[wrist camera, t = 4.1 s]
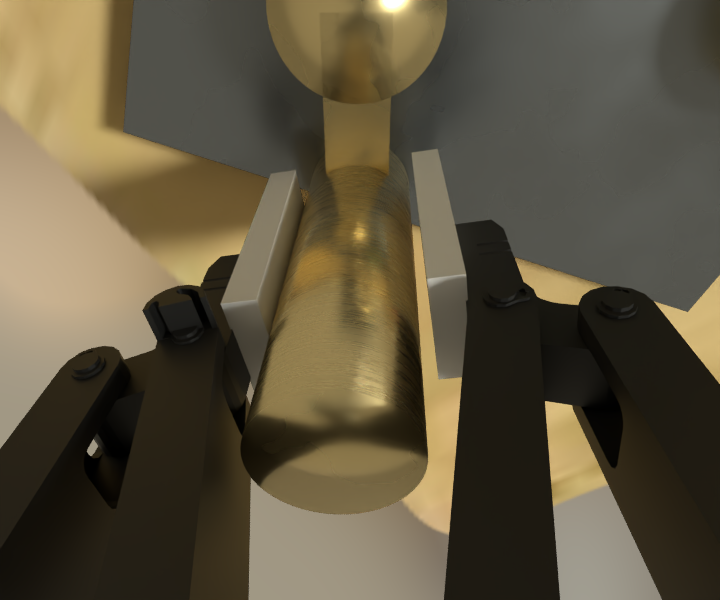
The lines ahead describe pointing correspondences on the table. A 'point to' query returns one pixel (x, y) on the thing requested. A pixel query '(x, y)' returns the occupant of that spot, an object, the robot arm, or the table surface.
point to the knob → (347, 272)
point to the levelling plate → (487, 123)
